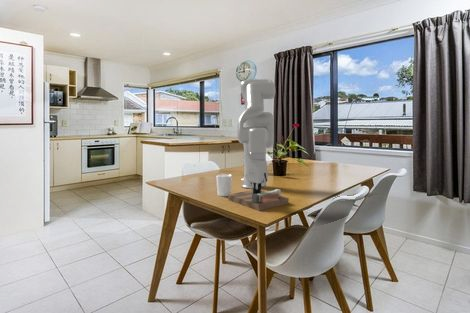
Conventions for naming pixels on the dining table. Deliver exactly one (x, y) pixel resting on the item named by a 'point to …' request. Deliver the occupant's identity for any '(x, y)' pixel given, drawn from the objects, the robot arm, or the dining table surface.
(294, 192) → the dining table surface
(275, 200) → the stool seat
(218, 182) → the white cup
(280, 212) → the dining table surface
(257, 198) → the stool leg
